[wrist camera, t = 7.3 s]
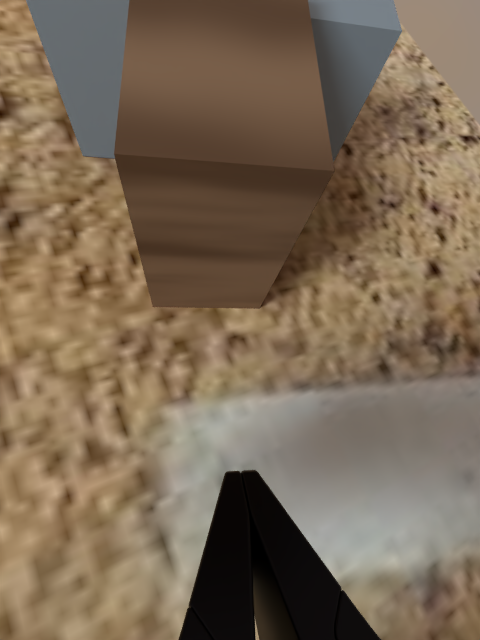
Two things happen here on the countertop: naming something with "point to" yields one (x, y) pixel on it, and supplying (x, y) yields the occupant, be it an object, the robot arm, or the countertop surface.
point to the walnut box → (219, 144)
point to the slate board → (109, 43)
